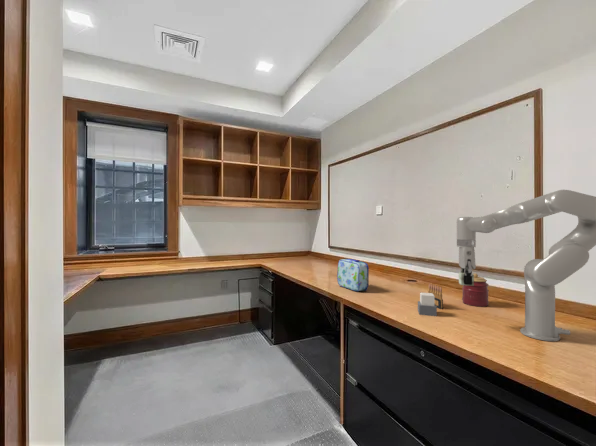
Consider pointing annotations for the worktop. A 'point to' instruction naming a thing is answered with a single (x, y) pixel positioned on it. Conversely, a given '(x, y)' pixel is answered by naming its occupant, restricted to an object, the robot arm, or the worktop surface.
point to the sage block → (461, 279)
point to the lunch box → (353, 274)
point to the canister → (476, 292)
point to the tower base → (427, 310)
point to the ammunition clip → (436, 295)
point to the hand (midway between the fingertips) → (466, 282)
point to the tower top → (427, 299)
